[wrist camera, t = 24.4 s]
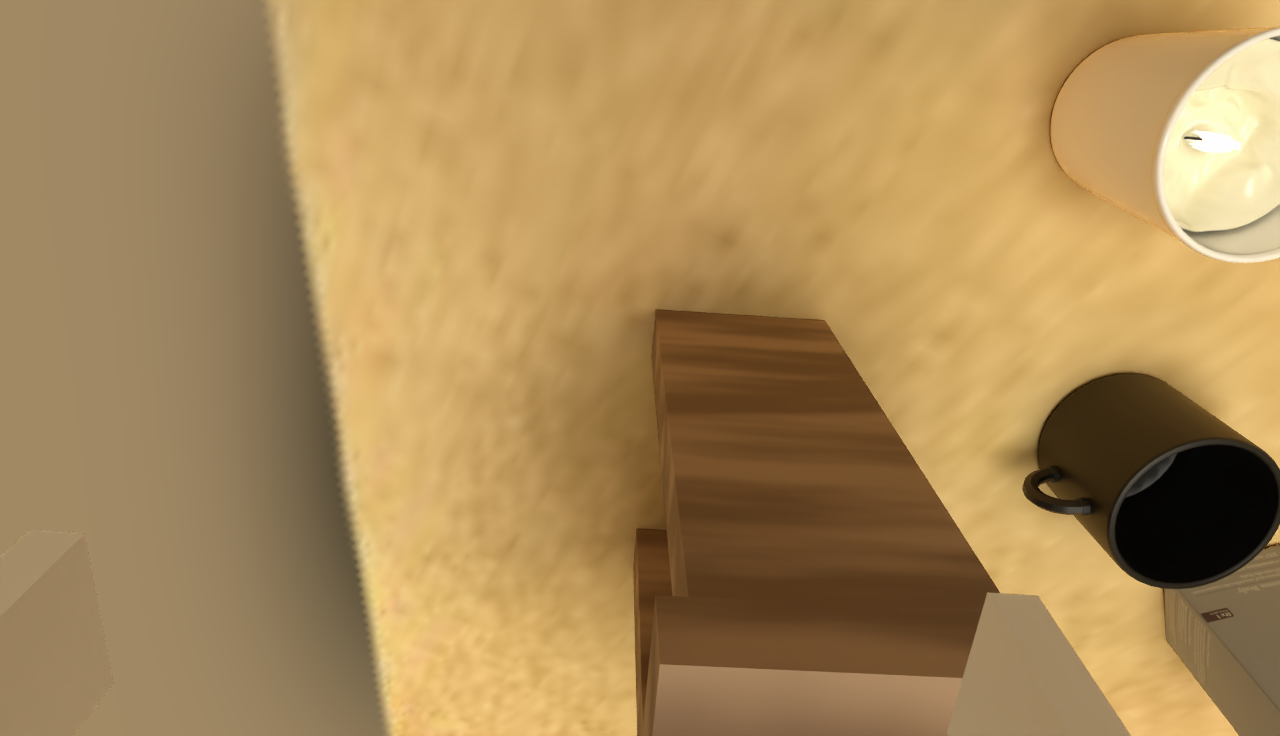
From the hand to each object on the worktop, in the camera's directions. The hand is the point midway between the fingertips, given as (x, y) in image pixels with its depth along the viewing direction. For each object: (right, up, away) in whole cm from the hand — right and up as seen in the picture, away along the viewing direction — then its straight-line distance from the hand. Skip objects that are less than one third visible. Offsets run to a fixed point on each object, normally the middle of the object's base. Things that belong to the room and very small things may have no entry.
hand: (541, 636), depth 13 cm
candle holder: (+28, +18, +35) cm, 48 cm away
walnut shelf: (+7, -1, +42) cm, 43 cm away
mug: (+30, -1, +43) cm, 52 cm away
